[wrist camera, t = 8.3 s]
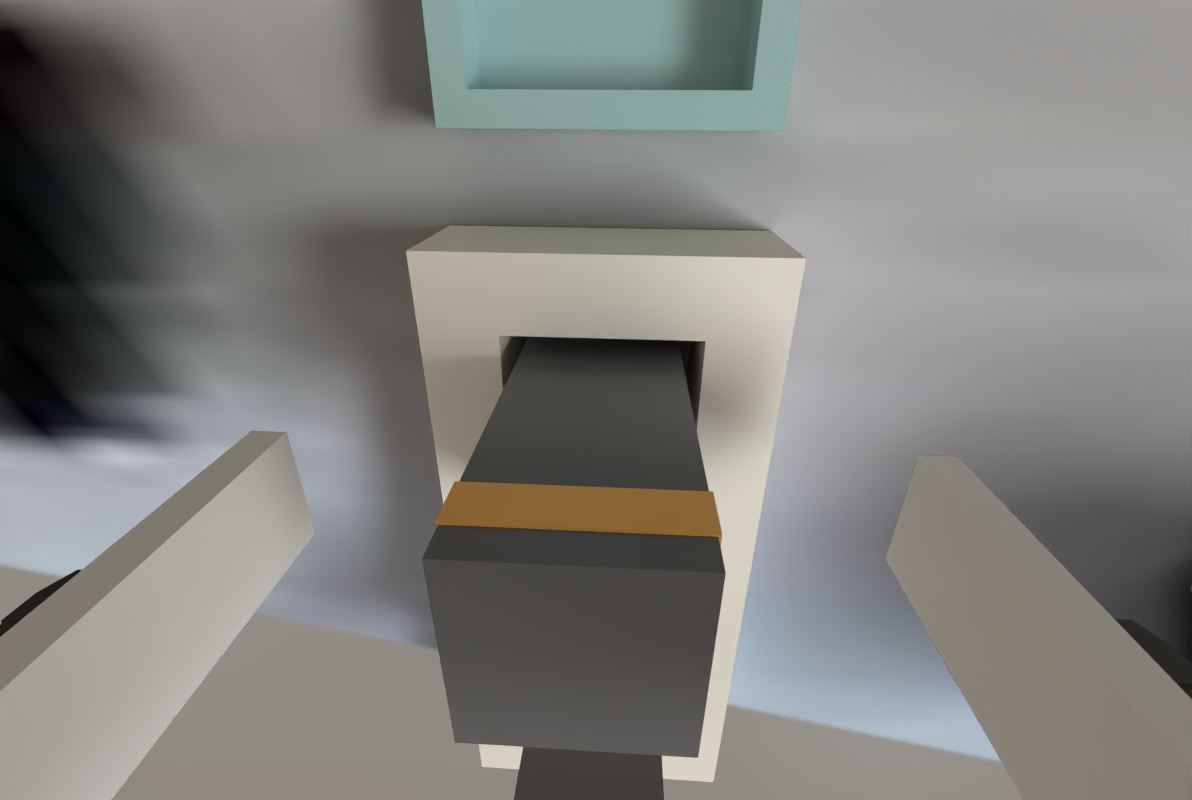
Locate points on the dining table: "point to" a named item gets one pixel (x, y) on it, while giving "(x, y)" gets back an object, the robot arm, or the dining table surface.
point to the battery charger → (619, 311)
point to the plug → (581, 558)
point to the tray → (611, 63)
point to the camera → (1191, 639)
